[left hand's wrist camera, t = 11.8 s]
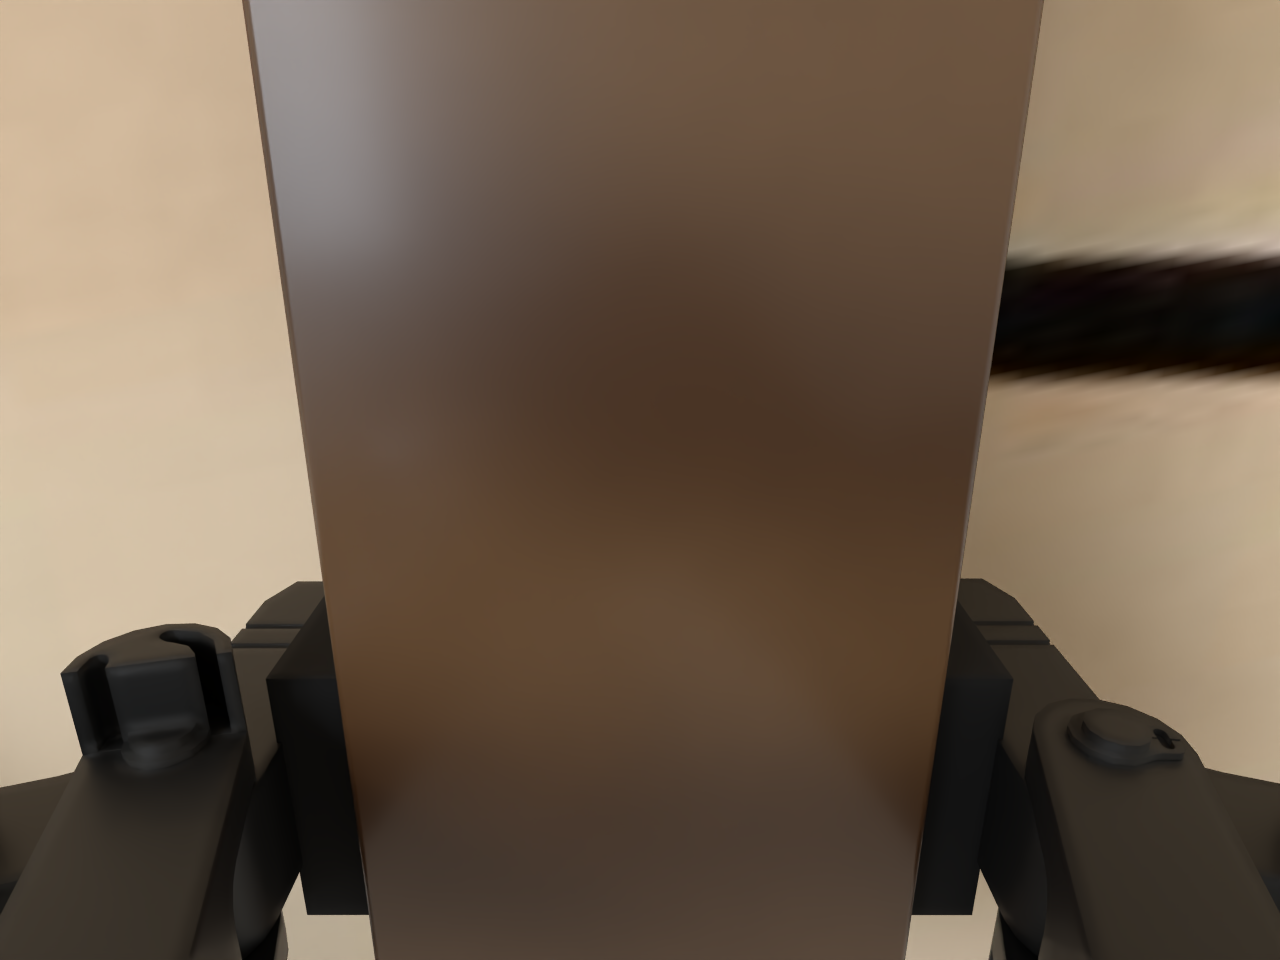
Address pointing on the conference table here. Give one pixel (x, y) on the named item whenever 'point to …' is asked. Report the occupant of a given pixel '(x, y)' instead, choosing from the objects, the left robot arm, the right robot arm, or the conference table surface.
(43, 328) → the conference table surface
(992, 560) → the conference table surface
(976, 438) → the bar
